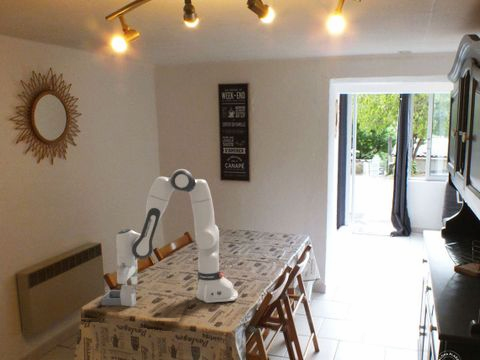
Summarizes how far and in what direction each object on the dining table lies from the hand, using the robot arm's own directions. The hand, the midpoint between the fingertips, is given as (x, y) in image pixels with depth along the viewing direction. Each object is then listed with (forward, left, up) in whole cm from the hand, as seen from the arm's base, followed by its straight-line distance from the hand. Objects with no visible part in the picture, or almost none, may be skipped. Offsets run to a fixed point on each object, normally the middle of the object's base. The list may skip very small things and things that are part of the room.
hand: (127, 286), depth 220 cm
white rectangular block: (-2, +5, -8) cm, 10 cm away
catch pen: (+7, 0, -8) cm, 10 cm away
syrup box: (+6, -25, -8) cm, 27 cm away
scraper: (-2, -1, -7) cm, 7 cm away
